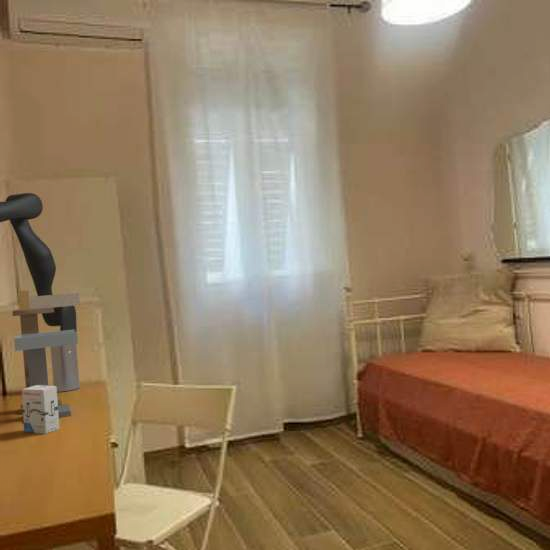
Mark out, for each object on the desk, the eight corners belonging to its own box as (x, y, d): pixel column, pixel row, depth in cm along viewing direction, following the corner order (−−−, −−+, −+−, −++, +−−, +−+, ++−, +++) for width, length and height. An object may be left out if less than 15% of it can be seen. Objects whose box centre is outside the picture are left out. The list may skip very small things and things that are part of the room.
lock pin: (20, 310, 190) (18, 291, 190) (78, 304, 197) (77, 286, 197) (19, 310, 185) (18, 291, 185) (79, 305, 192) (78, 286, 192)
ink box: (23, 432, 158) (19, 388, 158) (38, 427, 162) (35, 385, 162) (45, 434, 154) (42, 389, 154) (60, 429, 158) (57, 385, 158)
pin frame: (22, 415, 181) (16, 335, 182) (80, 406, 188) (74, 329, 188) (21, 424, 168) (14, 338, 168) (83, 414, 174) (76, 332, 174)
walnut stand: (21, 409, 191) (13, 310, 191) (61, 403, 195) (53, 307, 195) (20, 414, 182) (12, 311, 183) (62, 408, 187) (53, 307, 187)
